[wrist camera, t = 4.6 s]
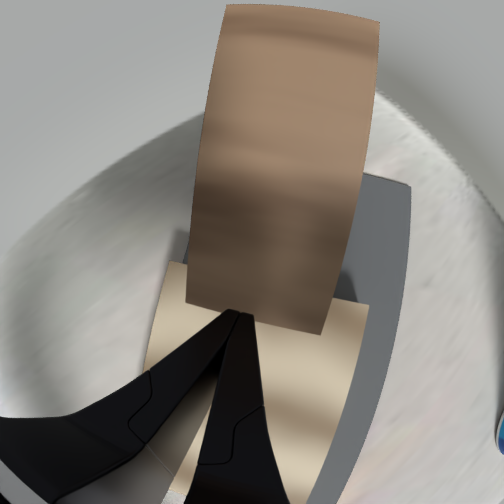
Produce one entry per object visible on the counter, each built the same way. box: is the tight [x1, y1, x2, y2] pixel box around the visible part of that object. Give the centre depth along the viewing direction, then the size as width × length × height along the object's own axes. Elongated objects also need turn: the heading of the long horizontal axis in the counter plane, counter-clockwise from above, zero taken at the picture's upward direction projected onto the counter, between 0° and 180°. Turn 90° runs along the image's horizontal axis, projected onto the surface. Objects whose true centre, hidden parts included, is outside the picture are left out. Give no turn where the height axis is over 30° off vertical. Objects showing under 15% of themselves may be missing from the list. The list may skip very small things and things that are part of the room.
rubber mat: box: [183, 174, 411, 504], centre depth 17 cm, size 26×15×1 cm, turn 166°
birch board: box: [143, 261, 369, 504], centre depth 15 cm, size 16×12×2 cm
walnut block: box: [185, 4, 380, 336], centre depth 13 cm, size 7×6×13 cm
